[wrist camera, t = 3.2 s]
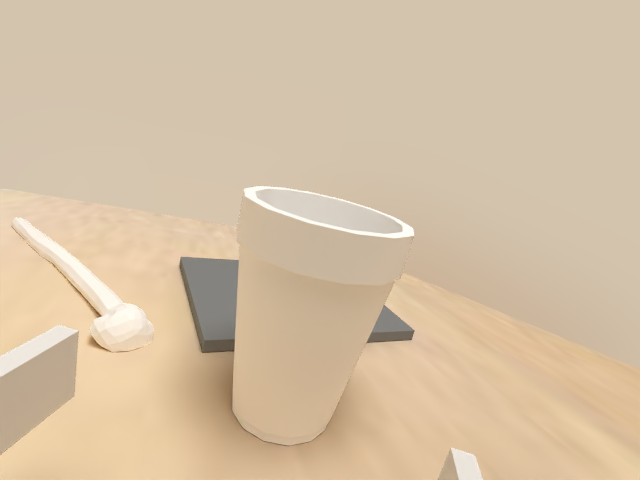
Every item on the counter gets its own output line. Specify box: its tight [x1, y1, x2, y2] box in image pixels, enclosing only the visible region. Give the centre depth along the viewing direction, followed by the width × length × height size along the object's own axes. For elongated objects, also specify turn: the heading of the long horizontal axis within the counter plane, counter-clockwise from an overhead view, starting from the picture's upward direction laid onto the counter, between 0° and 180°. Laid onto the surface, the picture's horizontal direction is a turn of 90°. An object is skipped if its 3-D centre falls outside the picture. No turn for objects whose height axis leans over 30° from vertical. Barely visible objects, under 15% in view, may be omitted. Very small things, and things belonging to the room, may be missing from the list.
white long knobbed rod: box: [12, 217, 154, 352], centre depth 32 cm, size 28×4×3 cm, turn 53°
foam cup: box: [232, 186, 414, 446], centre depth 22 cm, size 10×9×13 cm
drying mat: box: [180, 257, 414, 352], centre depth 38 cm, size 20×16×1 cm
